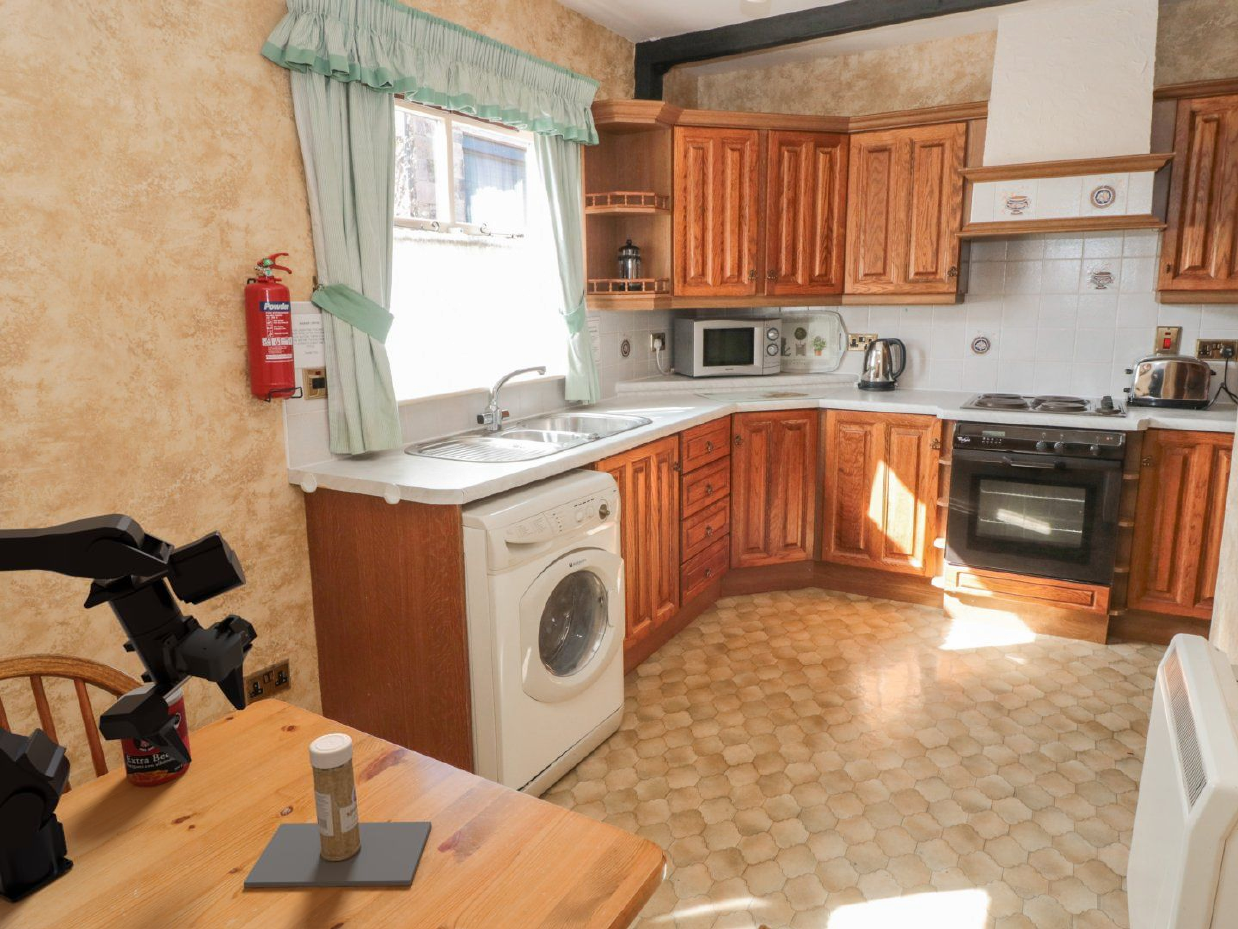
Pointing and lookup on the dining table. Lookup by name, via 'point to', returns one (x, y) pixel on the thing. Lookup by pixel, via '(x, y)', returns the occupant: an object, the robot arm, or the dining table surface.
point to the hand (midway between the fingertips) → (216, 735)
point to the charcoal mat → (377, 862)
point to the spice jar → (335, 796)
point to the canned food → (148, 761)
